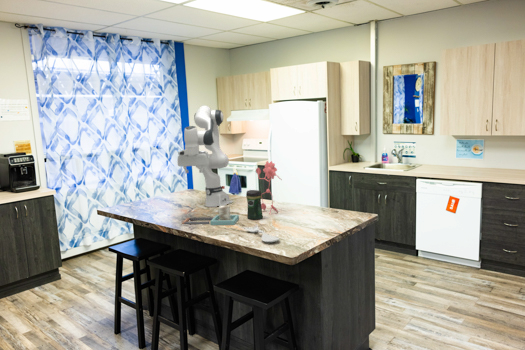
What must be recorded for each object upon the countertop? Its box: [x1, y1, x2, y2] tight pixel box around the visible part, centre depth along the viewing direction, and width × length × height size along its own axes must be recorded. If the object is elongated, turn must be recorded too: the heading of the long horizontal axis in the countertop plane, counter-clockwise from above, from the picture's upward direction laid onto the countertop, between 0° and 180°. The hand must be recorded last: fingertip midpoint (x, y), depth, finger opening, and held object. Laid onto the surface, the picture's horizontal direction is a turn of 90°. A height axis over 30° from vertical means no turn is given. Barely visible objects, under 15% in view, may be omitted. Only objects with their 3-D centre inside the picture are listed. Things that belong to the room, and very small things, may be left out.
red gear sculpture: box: [255, 160, 282, 215], centre depth 279 cm, size 15×26×35 cm, turn 41°
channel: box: [181, 216, 215, 225], centre depth 263 cm, size 18×12×2 cm
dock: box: [209, 214, 240, 226], centre depth 260 cm, size 15×15×2 cm
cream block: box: [218, 205, 232, 221], centre depth 260 cm, size 6×5×10 cm
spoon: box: [243, 224, 280, 243], centre depth 225 cm, size 9×32×4 cm, turn 26°
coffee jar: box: [245, 189, 264, 220], centre depth 264 cm, size 10×8×19 cm
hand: (193, 172), depth 266 cm, fingers open, 8 cm apart
